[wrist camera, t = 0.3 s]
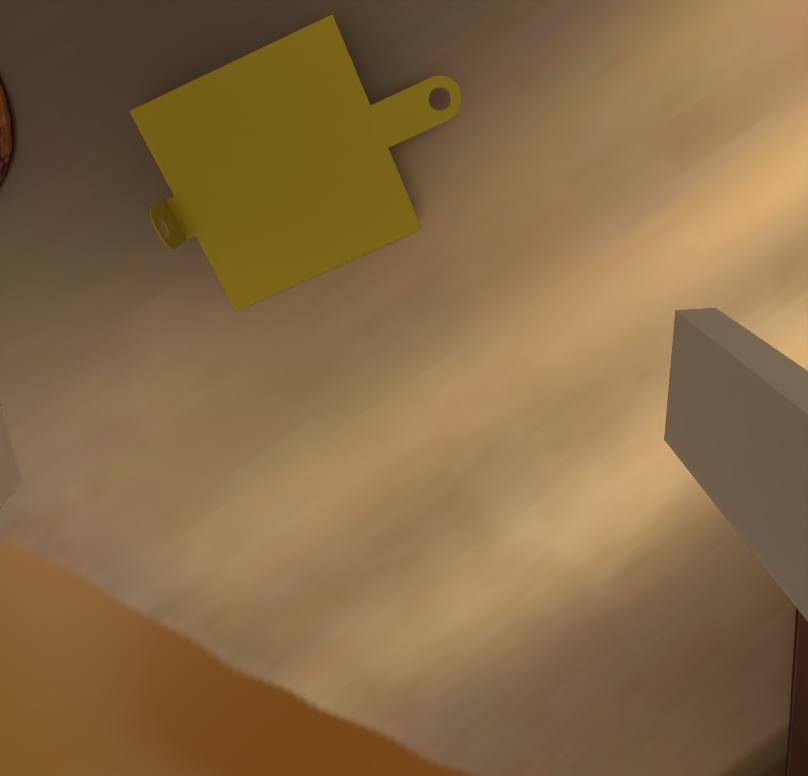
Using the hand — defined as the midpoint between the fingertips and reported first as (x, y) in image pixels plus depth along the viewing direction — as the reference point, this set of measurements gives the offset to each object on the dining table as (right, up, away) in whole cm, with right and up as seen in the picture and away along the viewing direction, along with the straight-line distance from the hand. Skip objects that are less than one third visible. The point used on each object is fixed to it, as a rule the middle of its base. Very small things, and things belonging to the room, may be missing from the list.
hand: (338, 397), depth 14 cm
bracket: (-3, +13, +25) cm, 28 cm away
